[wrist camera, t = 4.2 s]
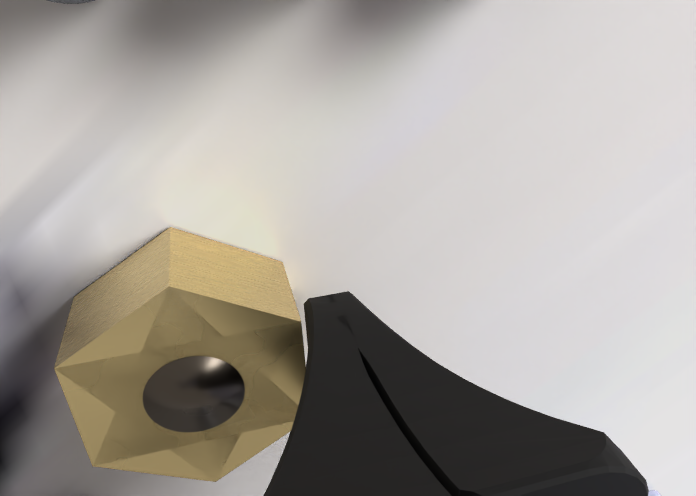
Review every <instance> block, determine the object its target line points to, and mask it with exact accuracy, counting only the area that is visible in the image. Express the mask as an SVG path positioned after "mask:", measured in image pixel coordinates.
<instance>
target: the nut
mask: <svg viewBox="0 0 696 496" xmlns="http://www.w3.org/2000/svg"><path fill="white" fill-rule="evenodd" d="M54 369H55V372H56V374H57V377H58V380H59V382H60V385H61V387H62V390H63V392H64V395H65V397H66V400H67V402H68V405H69V408H70V410H71V413H72V415H73V418H74V420H75V423H76V425H77V428H78V430H79V433H80V436H81V438H82V441H83V443H84V446H85V448H86V451H87V453H88V456H89V458H90V461H91V464H92V466H94V467H102V468H110V469H118V470H126V471H134V472H142V473H150V474H158V475H166V476H173V477H181V478H189V479H197V480H205V481H213V482H216V481H218V480H219V479H220V478H222V477H223V476H225V475H226V474H228V473H229V472H231V471H232V470H234V469H235V468H237V467H238V466H240V465H241V464H243V463H244V462H246V461H247V460H249V459H250V458H252V457H253V456H254V455H256V454H257V453H259V452H260V451H262V450H263V449H265V448H266V447H268V446H269V445H271V444H272V443H274V442H275V441H277V440H278V439H280V438H281V437H283V436H284V435H285V434H287V433H288V432H290V431H291V429H292V426H293V422H294V419H295V416H296V412H297V409H298V405H299V401H300V397H301V392H302V388H303V383H304V377H305V370H306V365H305V355H304V346H303V336H302V326H301V320H300V316H299V313H298V310H297V307H296V304H295V301H294V297H293V294H292V291H291V288H290V285H289V281H288V278H287V275H286V272H285V269H284V265H283V262H281V261H278V260H274V259H271V258H268V257H265V256H262V255H258V254H255V253H252V252H249V251H246V250H242V249H239V248H236V247H233V246H230V245H226V244H223V243H220V242H217V241H214V240H210V239H207V238H204V237H201V236H198V235H194V234H191V233H188V232H185V231H181V230H178V229H175V228H172V227H170V228H168V229H167V230H166V231H164V232H163V233H161V234H160V235H159V236H157V237H156V238H155V239H153V240H152V241H150V242H149V243H148V244H146V245H145V246H144V247H142V248H141V249H139V250H138V251H137V252H135V253H134V254H133V255H131V256H130V257H128V258H127V259H126V260H124V261H123V262H122V263H120V264H119V265H117V266H116V267H115V268H113V269H112V270H110V271H109V272H108V273H106V274H105V275H104V276H102V277H101V278H99V279H98V280H97V281H95V282H94V283H93V284H91V285H90V286H88V287H87V288H86V289H84V290H83V291H82V292H80V293H79V294H77V295H76V296H75V297H74V299H73V303H72V306H71V310H70V313H69V317H68V320H67V324H66V328H65V331H64V335H63V338H62V342H61V346H60V349H59V353H58V356H57V360H56V363H55V367H54Z"/></svg>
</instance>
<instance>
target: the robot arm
mask: <svg viewBox="0 0 696 496" xmlns="http://www.w3.org/2000/svg"><path fill="white" fill-rule="evenodd" d="M304 311H305V321H306V331H307V342H308V357H307V364H306V370H305V377H304V383H303V388H302V392H301V397H300V401H299V405H298V409H297V412H296V416H295V419H294V422H293V426H292V429H291V432H290V435H289V438H288V441H287V443H286V446H285V449H284V451H283V454H282V456H281V458H280V461H279V463H278V465H277V468H276V470H275V472H274V475H273V477H272V479H271V482H270V484H269V486H268V488H267V490H266V492H265V494H264V496H661V495H660V493H659V492H658V491H655V490H650V491H648V487H647V482H646V480H645V478H644V477H643V476H642V475H641V474H640V473H639V471H638V470H637V469H636V468H635V467H634V465H633V464H632V463H631V462H630V460H629V459H628V458H627V457H626V456H625V454H624V453H623V452H622V451H621V450H620V449H619V448H618V447H617V446H616V445H615V444H614V443H613V442H612V441H611V440H610V438H609V437H608V436H607V435H606V434H605V433H604V432H600V431H597V430H594V429H590V428H587V427H584V426H580V425H577V424H573V423H570V422H567V421H563V420H560V419H556V418H553V417H550V416H548V415H545V414H542V413H540V412H537V411H534V410H531V409H529V408H526V407H523V406H521V405H519V404H516V403H514V402H511V401H509V400H506V399H504V398H502V397H500V396H498V395H496V394H493V393H491V392H489V391H487V390H485V389H483V388H481V387H479V386H477V385H475V384H473V383H471V382H469V381H467V380H465V379H463V378H462V377H460V376H458V375H456V374H455V373H453V372H451V371H450V370H448V369H446V368H444V367H443V366H441V365H439V364H438V363H436V362H435V361H433V360H432V359H430V358H429V357H427V356H426V355H425V354H423V353H422V352H420V351H419V350H418V349H416V348H415V347H413V346H412V345H411V344H410V343H408V342H407V341H406V340H404V339H403V338H402V337H401V336H399V335H398V334H397V333H396V332H394V331H393V330H392V329H391V328H389V327H388V326H387V325H386V324H385V323H383V322H382V321H381V320H380V319H379V318H378V317H377V316H375V315H374V314H373V313H372V312H371V311H370V310H369V309H368V308H367V307H366V306H364V305H363V304H362V303H361V302H360V301H359V300H358V299H357V298H356V297H355V296H354V295H353V294H351V293H350V292H349V291H348V292H342V293H337V294H331V295H326V296H320V297H315V298H309V299H308V300H307V301H306V302H305V303H304Z"/></svg>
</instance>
